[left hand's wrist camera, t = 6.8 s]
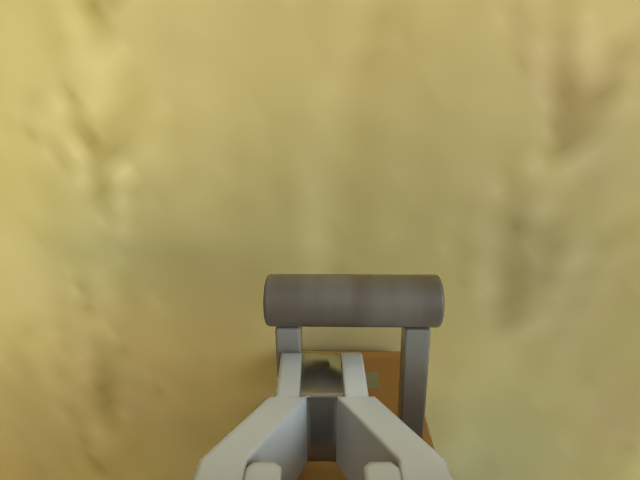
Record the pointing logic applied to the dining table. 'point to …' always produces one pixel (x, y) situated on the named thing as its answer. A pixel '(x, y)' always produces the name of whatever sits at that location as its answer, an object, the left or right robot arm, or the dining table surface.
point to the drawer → (363, 311)
